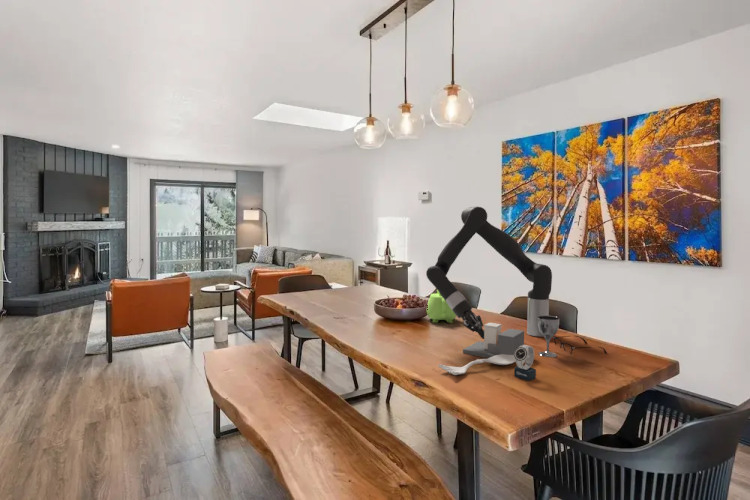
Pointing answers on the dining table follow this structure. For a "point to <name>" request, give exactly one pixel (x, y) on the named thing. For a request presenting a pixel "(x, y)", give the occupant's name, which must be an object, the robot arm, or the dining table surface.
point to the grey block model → (506, 344)
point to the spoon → (496, 359)
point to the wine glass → (548, 331)
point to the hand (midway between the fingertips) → (485, 337)
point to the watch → (520, 358)
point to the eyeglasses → (572, 346)
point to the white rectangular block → (491, 334)
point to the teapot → (439, 309)
